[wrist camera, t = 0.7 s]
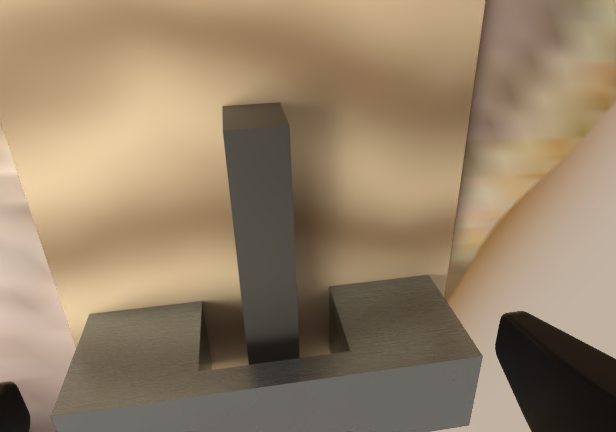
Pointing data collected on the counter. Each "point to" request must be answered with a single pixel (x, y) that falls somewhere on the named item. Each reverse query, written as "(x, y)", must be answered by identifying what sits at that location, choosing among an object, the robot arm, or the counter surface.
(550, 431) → the robot arm
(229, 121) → the grey and white bar
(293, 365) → the grey boxy piece
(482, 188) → the counter surface
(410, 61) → the mounting board
